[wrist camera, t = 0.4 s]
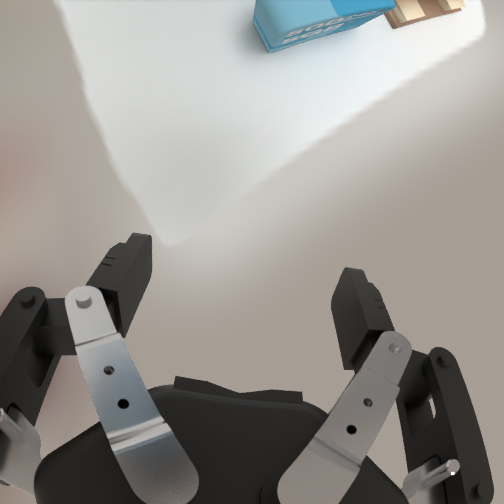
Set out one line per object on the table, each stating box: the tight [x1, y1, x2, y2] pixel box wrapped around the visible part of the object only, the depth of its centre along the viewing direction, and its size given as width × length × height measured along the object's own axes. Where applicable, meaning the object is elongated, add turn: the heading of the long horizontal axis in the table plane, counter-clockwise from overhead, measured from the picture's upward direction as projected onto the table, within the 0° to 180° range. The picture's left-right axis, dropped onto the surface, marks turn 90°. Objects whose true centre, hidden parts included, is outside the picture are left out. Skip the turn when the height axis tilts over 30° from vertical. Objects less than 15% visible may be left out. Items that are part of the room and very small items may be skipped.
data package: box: [253, 0, 396, 52], centre depth 23 cm, size 12×4×12 cm, turn 114°
